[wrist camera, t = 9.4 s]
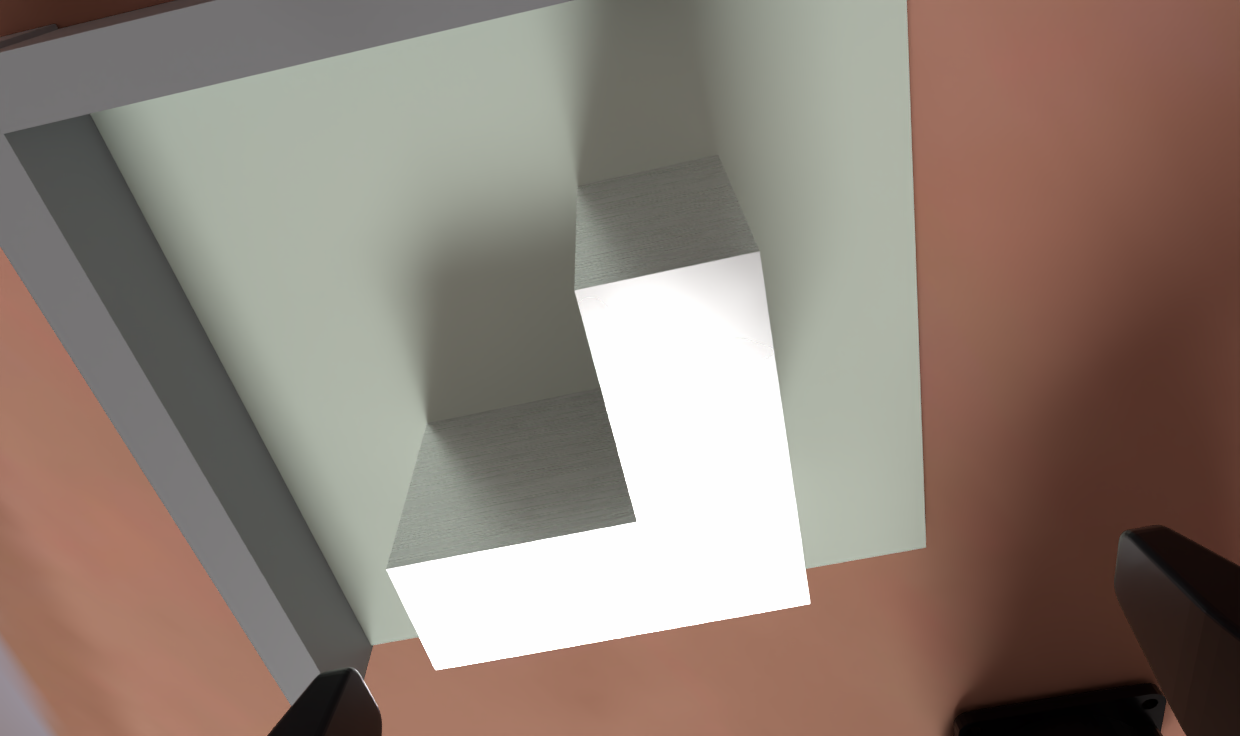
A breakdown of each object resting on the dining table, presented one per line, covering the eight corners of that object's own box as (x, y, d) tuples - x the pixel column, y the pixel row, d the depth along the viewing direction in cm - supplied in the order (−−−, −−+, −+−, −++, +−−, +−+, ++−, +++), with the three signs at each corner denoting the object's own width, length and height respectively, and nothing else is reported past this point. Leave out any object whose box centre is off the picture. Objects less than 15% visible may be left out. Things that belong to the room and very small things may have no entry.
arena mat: (896, -100, 16) (903, -98, 16) (921, 537, 24) (925, 547, 24) (91, 91, 17) (81, 96, 17) (374, 634, 25) (371, 645, 25)
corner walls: (967, -200, 15) (1045, -209, 13) (968, 532, 24) (1014, 613, 21) (-3, 37, 17) (-111, 72, 14) (336, 643, 25) (308, 732, 23)
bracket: (766, 456, 22) (810, 603, 18) (464, 514, 23) (435, 670, 18) (718, 154, 18) (759, 251, 14) (350, 236, 18) (280, 352, 14)
